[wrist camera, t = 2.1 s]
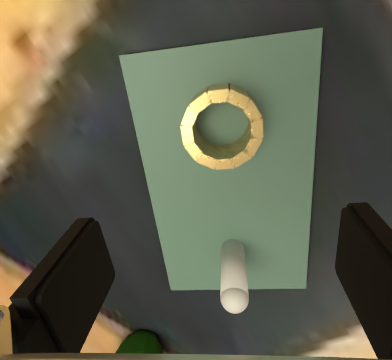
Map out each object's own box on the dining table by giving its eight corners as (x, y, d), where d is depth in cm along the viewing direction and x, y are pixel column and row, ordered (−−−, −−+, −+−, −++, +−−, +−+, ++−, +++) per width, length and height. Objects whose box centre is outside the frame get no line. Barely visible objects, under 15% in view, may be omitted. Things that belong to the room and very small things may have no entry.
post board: (124, 55, 27) (71, 61, 18) (317, 28, 25) (373, 18, 15) (172, 281, 40) (156, 354, 31) (303, 279, 37) (328, 357, 28)
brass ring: (182, 88, 26) (175, 94, 23) (257, 79, 25) (262, 85, 22) (191, 156, 29) (187, 171, 26) (259, 150, 28) (263, 166, 25)
